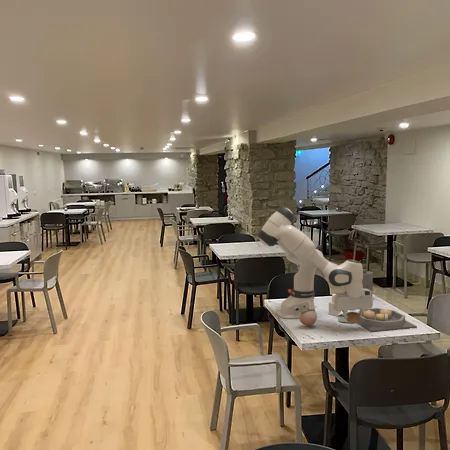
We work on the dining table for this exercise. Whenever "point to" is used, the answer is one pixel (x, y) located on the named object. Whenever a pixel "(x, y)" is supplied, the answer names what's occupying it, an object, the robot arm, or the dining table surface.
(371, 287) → the flask
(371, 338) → the dining table surface
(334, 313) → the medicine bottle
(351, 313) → the planet gear
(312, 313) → the decorative fruit
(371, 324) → the grey octagonal tray
